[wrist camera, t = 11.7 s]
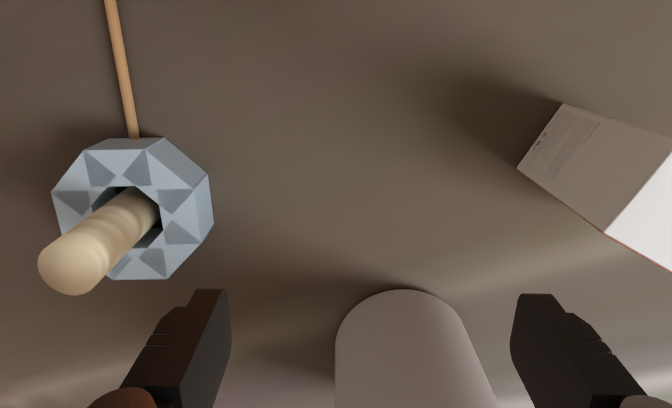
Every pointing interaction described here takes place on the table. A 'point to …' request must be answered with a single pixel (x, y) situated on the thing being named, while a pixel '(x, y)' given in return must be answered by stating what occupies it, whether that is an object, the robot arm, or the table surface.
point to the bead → (156, 182)
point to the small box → (609, 178)
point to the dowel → (97, 242)
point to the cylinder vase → (407, 356)
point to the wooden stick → (122, 68)
